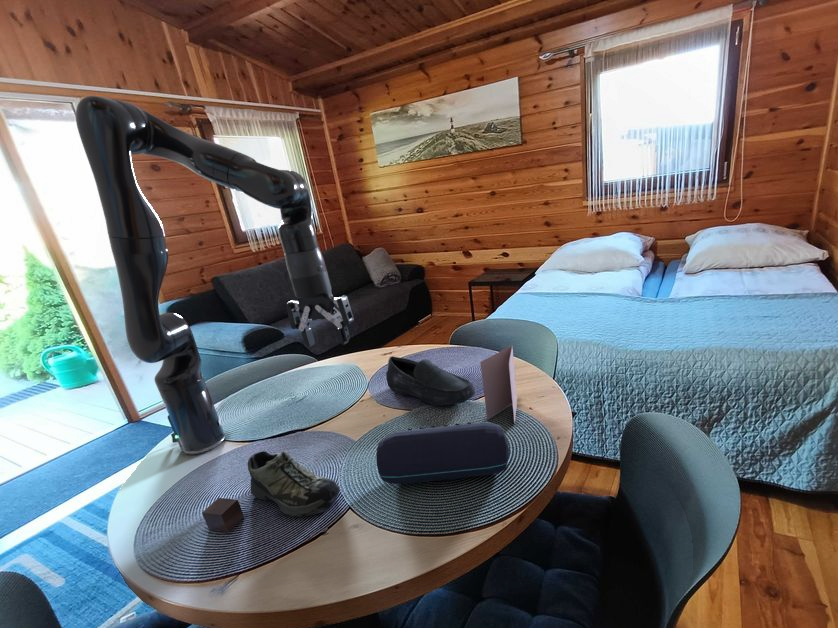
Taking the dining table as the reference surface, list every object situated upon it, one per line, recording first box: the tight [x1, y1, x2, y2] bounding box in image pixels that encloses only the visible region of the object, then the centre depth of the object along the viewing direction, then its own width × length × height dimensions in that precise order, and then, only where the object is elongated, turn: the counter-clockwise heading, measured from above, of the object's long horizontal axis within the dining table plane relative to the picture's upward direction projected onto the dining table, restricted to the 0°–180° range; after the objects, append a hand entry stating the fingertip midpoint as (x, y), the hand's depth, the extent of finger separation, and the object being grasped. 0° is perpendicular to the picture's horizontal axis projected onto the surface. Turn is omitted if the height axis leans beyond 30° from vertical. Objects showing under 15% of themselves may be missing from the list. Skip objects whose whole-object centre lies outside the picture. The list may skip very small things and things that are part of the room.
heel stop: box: [201, 497, 245, 533], centre depth 78 cm, size 4×4×4 cm
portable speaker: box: [375, 421, 510, 485], centre depth 83 cm, size 25×10×10 cm, turn 90°
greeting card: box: [479, 345, 518, 425], centre depth 101 cm, size 11×7×15 cm, turn 136°
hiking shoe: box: [247, 450, 341, 518], centre depth 82 cm, size 8×21×9 cm, turn 65°
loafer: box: [385, 355, 476, 406], centre depth 116 cm, size 10×29×10 cm, turn 58°
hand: (328, 344), depth 96 cm, fingers open, 8 cm apart
